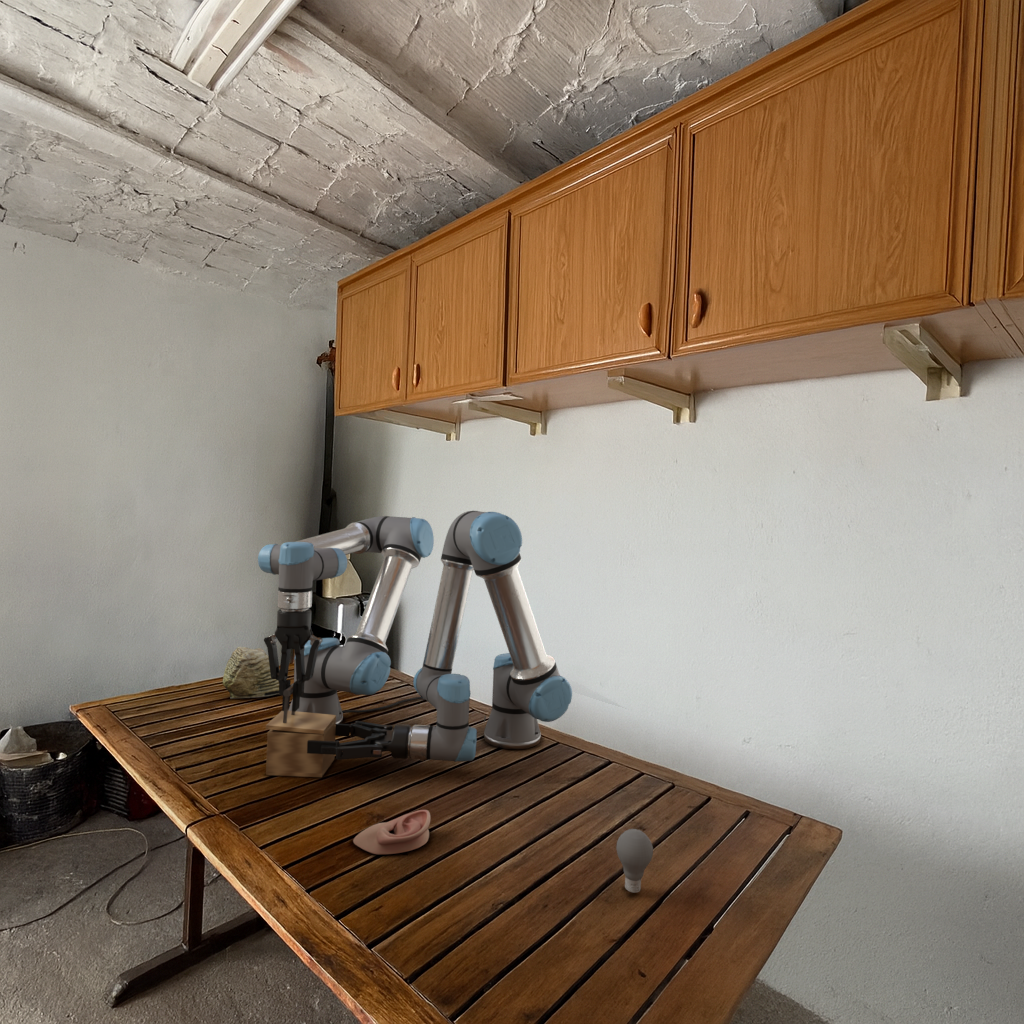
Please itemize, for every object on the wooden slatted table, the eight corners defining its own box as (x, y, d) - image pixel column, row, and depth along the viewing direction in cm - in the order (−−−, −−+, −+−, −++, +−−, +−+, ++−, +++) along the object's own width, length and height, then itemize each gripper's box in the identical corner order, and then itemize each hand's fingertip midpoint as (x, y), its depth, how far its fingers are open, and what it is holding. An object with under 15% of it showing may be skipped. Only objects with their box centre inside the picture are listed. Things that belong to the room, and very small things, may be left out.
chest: (265, 775, 143) (267, 732, 143) (282, 756, 153) (283, 716, 153) (321, 777, 143) (323, 734, 143) (334, 758, 153) (336, 719, 153)
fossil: (218, 695, 195) (220, 647, 195) (278, 685, 208) (279, 640, 207) (228, 703, 189) (230, 653, 188) (289, 692, 201) (290, 645, 201)
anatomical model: (346, 827, 114) (372, 798, 125) (345, 849, 114) (372, 818, 125) (416, 839, 111) (436, 808, 122) (415, 861, 111) (436, 828, 123)
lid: (265, 729, 143) (268, 691, 142) (282, 713, 153) (285, 678, 153) (323, 734, 143) (326, 696, 142) (336, 718, 153) (339, 683, 153)
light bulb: (610, 879, 108) (613, 822, 108) (644, 879, 109) (647, 822, 109) (619, 902, 102) (622, 840, 102) (655, 901, 103) (658, 840, 103)
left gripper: (256, 610, 143) (252, 713, 144) (321, 613, 143) (317, 716, 144) (269, 604, 151) (265, 702, 151) (330, 607, 151) (327, 705, 151)
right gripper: (400, 779, 136) (298, 774, 136) (417, 739, 159) (328, 735, 159) (402, 744, 136) (299, 740, 136) (418, 709, 159) (330, 705, 159)
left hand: (290, 709), depth 148 cm, fingers closed on lid, 2 cm apart
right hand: (315, 737), depth 148 cm, fingers closed on chest, 10 cm apart
